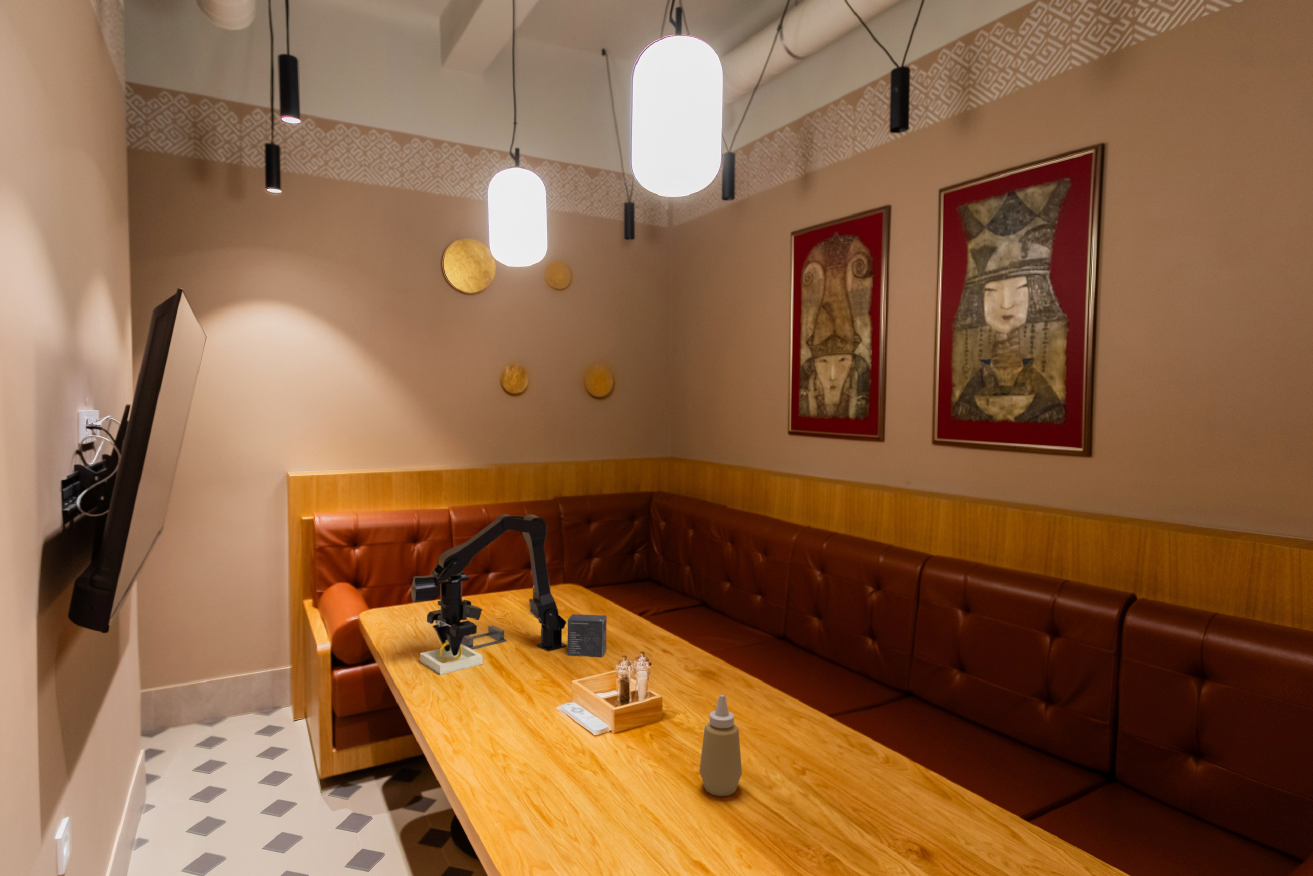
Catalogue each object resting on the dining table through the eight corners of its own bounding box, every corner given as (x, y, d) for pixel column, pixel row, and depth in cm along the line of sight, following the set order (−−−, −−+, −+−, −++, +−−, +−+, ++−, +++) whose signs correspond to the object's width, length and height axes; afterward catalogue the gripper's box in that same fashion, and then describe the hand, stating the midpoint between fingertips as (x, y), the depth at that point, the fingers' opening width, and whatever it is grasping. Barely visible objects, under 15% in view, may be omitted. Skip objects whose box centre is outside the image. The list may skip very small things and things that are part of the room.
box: (606, 649, 212) (607, 614, 212) (603, 657, 206) (603, 621, 205) (571, 648, 213) (571, 613, 213) (566, 655, 207) (566, 619, 206)
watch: (441, 665, 197) (440, 644, 196) (439, 662, 199) (437, 641, 199) (463, 660, 200) (462, 639, 199) (460, 657, 202) (459, 636, 202)
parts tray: (482, 664, 199) (482, 655, 199) (440, 675, 190) (440, 665, 190) (461, 652, 208) (461, 643, 208) (420, 662, 200) (420, 653, 200)
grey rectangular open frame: (506, 641, 218) (506, 631, 218) (470, 650, 210) (470, 639, 210) (490, 633, 225) (490, 624, 225) (455, 641, 217) (455, 632, 217)
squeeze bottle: (714, 773, 142) (716, 684, 141) (749, 788, 137) (751, 695, 136) (690, 790, 136) (692, 696, 135) (726, 806, 131) (728, 708, 130)
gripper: (494, 599, 197) (494, 655, 198) (462, 586, 211) (462, 638, 211) (456, 607, 189) (456, 665, 190) (426, 592, 203) (426, 646, 204)
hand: (451, 653), depth 199 cm, fingers open, 4 cm apart
